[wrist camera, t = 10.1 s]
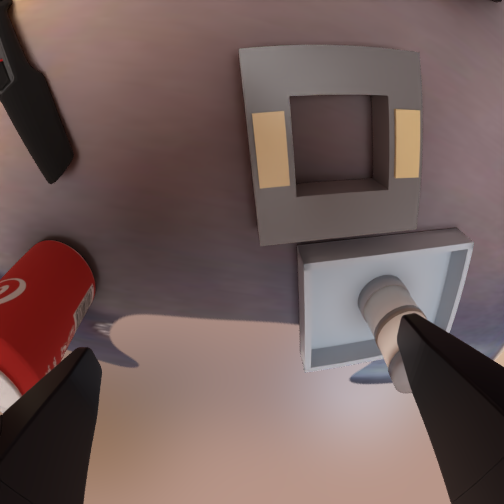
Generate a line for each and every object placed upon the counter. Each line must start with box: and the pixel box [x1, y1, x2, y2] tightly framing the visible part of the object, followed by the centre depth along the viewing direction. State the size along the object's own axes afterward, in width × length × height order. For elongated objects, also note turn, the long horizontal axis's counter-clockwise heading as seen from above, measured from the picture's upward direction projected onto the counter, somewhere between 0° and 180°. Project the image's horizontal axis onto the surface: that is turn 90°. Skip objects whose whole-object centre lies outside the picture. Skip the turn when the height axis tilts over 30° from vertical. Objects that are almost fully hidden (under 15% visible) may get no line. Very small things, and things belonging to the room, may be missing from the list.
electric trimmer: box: [0, 0, 74, 184], centre depth 14 cm, size 4×16×3 cm, turn 26°
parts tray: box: [297, 228, 474, 373], centre depth 23 cm, size 13×10×2 cm
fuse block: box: [238, 45, 423, 246], centre depth 17 cm, size 10×11×3 cm
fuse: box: [358, 275, 427, 393], centre depth 20 cm, size 4×4×8 cm
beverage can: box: [0, 240, 95, 413], centre depth 17 cm, size 6×6×12 cm
